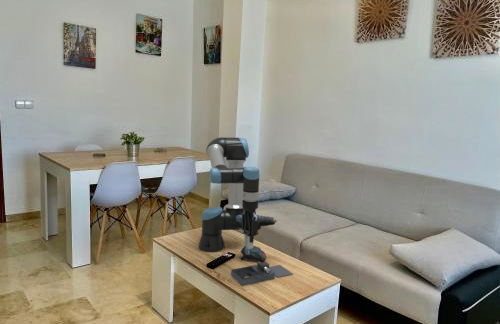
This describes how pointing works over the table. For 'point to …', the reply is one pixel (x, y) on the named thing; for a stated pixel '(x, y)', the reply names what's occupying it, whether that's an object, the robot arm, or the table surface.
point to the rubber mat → (280, 271)
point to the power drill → (256, 252)
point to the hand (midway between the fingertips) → (248, 247)
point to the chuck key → (248, 251)
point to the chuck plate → (253, 274)
